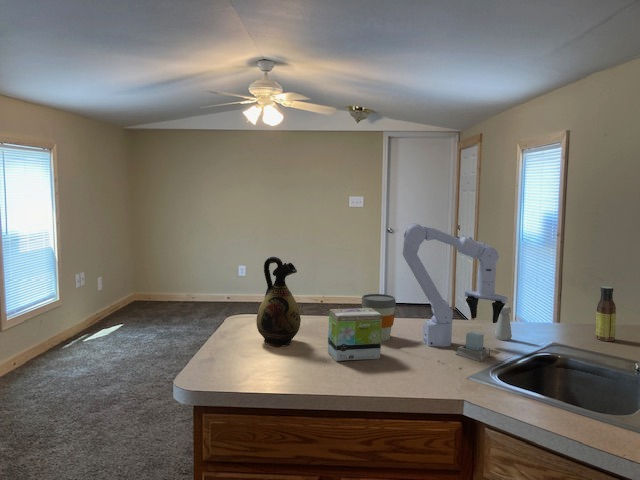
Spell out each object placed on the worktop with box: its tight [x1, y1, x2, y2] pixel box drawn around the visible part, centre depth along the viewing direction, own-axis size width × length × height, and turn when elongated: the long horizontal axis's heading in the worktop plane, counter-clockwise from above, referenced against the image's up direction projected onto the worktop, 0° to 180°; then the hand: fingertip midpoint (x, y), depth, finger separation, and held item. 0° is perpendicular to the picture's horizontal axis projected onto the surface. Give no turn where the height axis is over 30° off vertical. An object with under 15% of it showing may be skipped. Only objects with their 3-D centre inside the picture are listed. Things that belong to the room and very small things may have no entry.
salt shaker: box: [494, 305, 513, 342], centre depth 175 cm, size 6×6×13 cm
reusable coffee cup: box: [361, 293, 397, 342], centre depth 177 cm, size 13×13×15 cm
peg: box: [465, 331, 485, 352], centre depth 156 cm, size 4×4×7 cm
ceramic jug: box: [255, 256, 302, 348], centre depth 168 cm, size 17×15×30 cm
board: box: [455, 343, 501, 362], centre depth 159 cm, size 14×9×4 cm, turn 135°
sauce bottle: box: [595, 285, 617, 342], centre depth 180 cm, size 7×6×20 cm
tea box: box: [327, 307, 382, 362], centre depth 156 cm, size 15×10×15 cm, turn 105°
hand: (484, 320), depth 166 cm, fingers open, 7 cm apart
